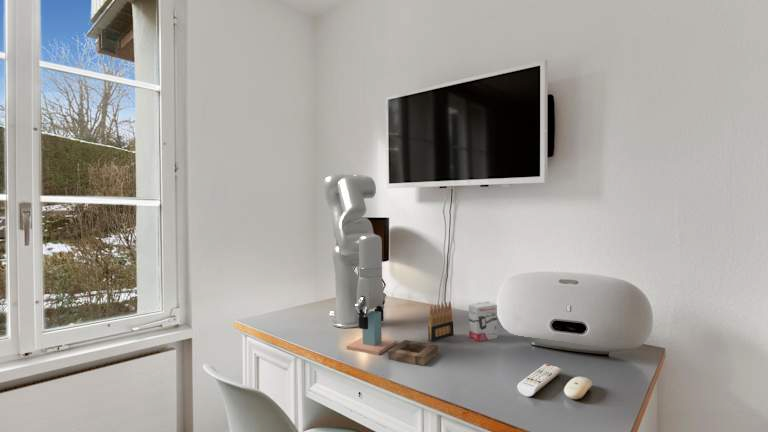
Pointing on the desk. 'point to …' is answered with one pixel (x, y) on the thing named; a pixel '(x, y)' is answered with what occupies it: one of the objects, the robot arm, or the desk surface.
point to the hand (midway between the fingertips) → (371, 324)
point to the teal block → (373, 329)
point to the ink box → (483, 321)
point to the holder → (413, 352)
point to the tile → (376, 349)
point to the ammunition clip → (440, 322)
